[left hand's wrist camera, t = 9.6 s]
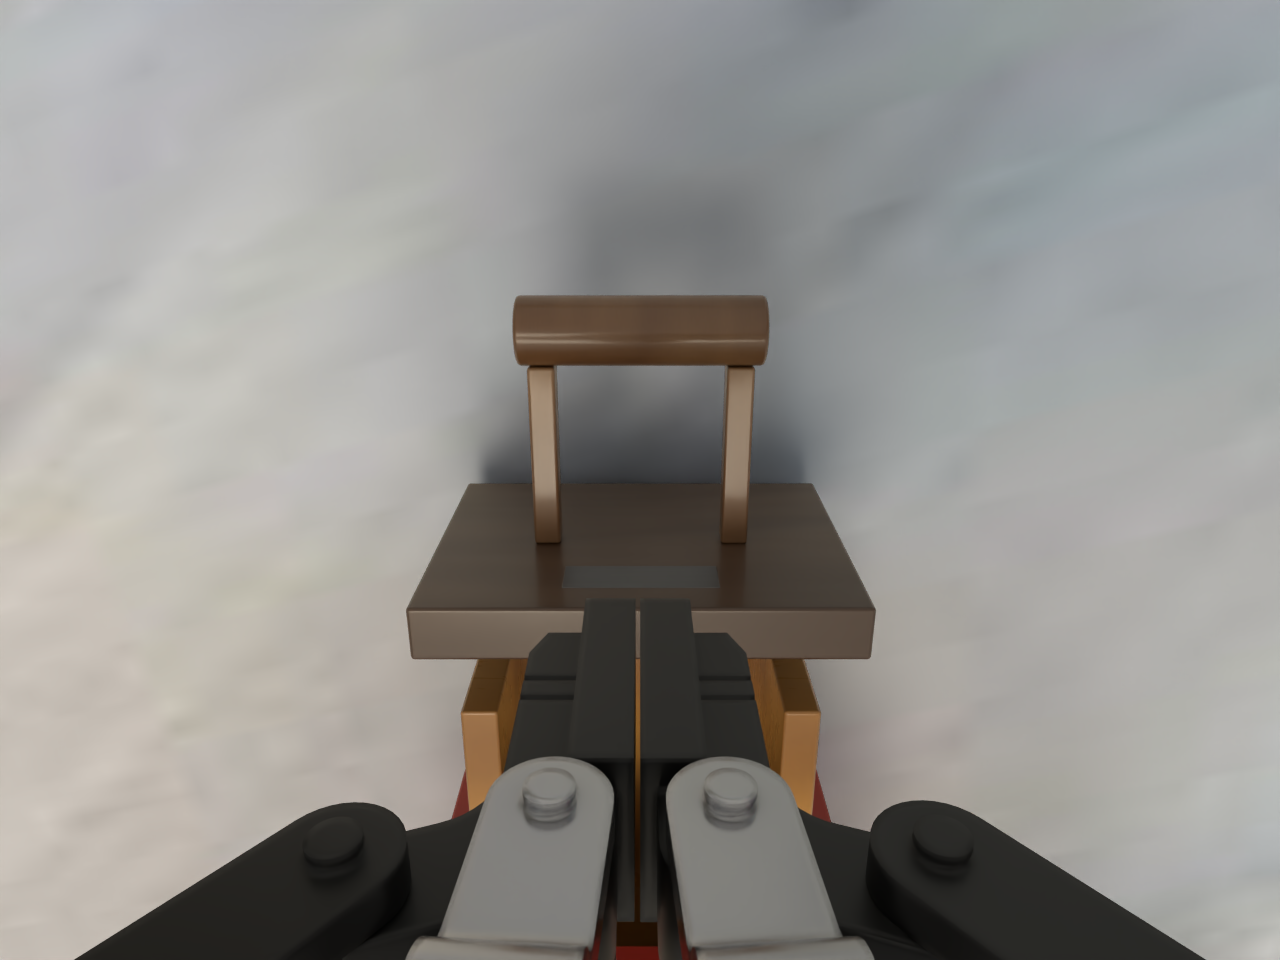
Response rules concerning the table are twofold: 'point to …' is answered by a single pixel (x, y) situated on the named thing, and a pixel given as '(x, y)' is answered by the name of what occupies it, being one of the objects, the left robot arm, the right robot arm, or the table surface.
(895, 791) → the table surface
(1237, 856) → the table surface
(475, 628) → the drawer
